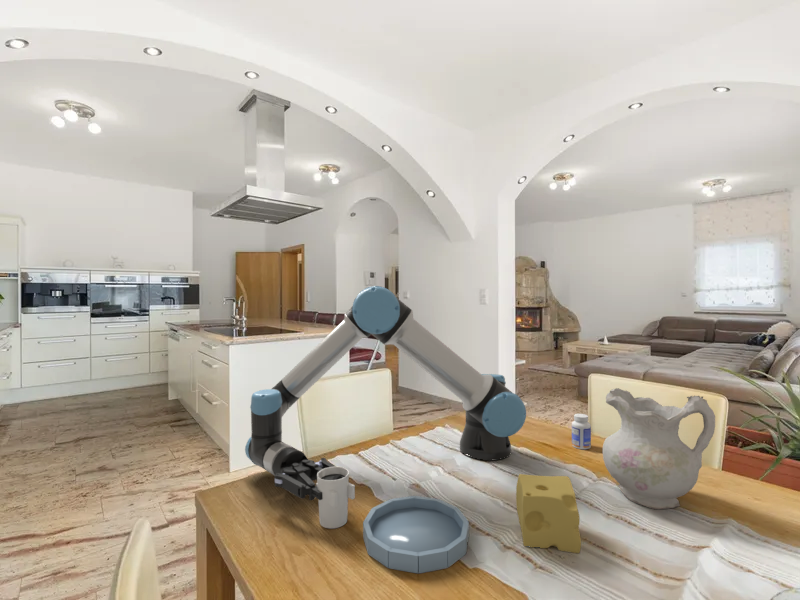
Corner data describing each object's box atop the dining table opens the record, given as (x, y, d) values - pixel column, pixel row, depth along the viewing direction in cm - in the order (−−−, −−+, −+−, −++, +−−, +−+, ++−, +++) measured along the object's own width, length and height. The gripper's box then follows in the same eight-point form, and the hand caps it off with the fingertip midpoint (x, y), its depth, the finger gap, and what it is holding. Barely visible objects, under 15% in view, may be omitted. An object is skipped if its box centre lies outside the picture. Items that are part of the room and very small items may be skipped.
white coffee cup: (338, 508, 90) (338, 463, 90) (355, 521, 85) (355, 473, 85) (311, 519, 86) (310, 472, 86) (328, 533, 81) (327, 483, 81)
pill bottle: (589, 444, 128) (589, 413, 128) (591, 450, 123) (591, 418, 123) (571, 442, 130) (571, 412, 129) (572, 448, 124) (572, 417, 124)
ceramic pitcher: (692, 489, 101) (689, 387, 102) (733, 527, 82) (728, 401, 83) (596, 479, 106) (594, 383, 108) (614, 513, 88) (611, 395, 89)
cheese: (581, 555, 74) (581, 500, 74) (520, 547, 77) (520, 495, 76) (569, 523, 85) (569, 475, 84) (515, 517, 87) (515, 471, 87)
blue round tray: (445, 504, 92) (445, 491, 92) (486, 560, 73) (486, 543, 73) (357, 517, 87) (357, 503, 87) (376, 581, 68) (376, 563, 68)
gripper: (315, 467, 105) (375, 499, 89) (252, 489, 93) (309, 531, 77) (315, 438, 105) (375, 465, 89) (252, 457, 93) (308, 492, 77)
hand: (344, 496), depth 83 cm, fingers closed on white coffee cup, 4 cm apart
